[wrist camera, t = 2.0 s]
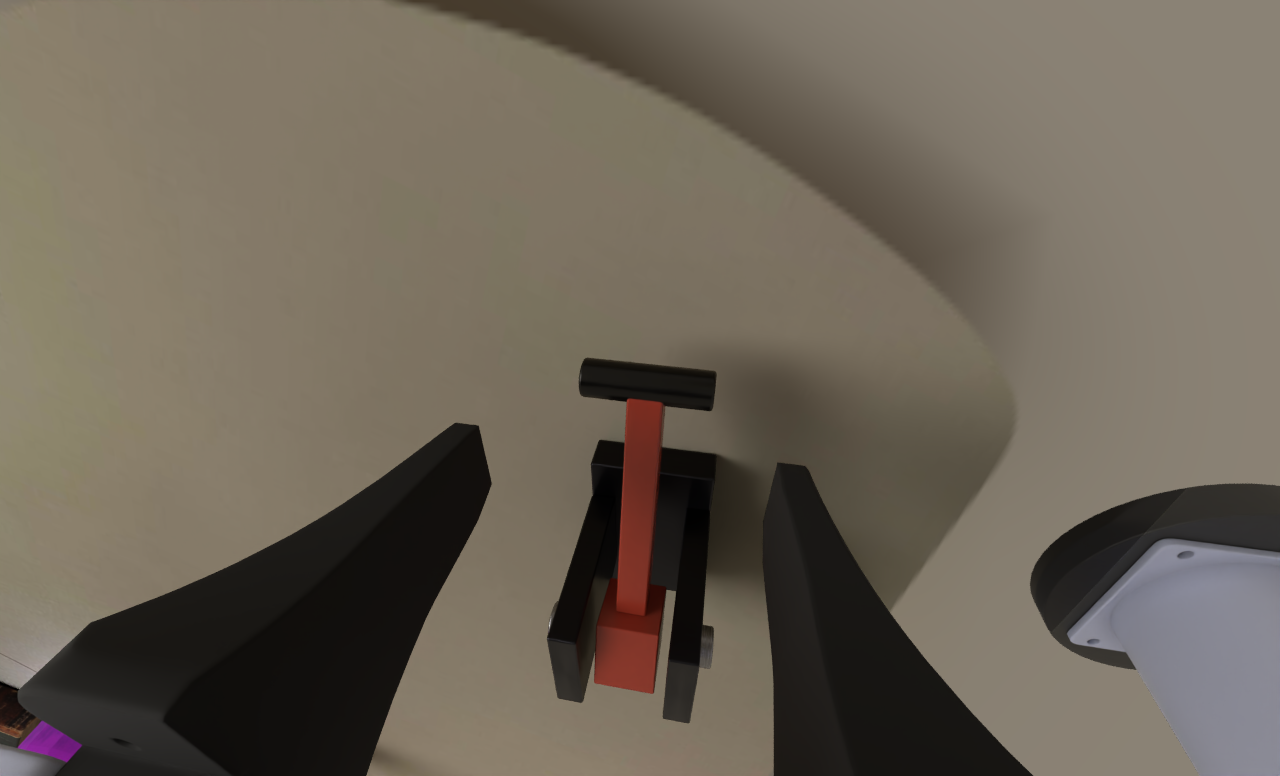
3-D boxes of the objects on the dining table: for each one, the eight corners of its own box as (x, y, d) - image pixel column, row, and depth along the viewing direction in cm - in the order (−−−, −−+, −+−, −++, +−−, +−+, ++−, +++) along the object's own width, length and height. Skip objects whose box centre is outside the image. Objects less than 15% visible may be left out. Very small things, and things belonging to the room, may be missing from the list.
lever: (593, 347, 17) (572, 371, 14) (717, 359, 16) (716, 386, 14) (586, 627, 21) (569, 679, 19) (683, 644, 20) (678, 699, 18)
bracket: (587, 437, 22) (524, 606, 16) (728, 455, 21) (722, 639, 15) (594, 552, 27) (548, 716, 20) (710, 570, 26) (699, 746, 20)
